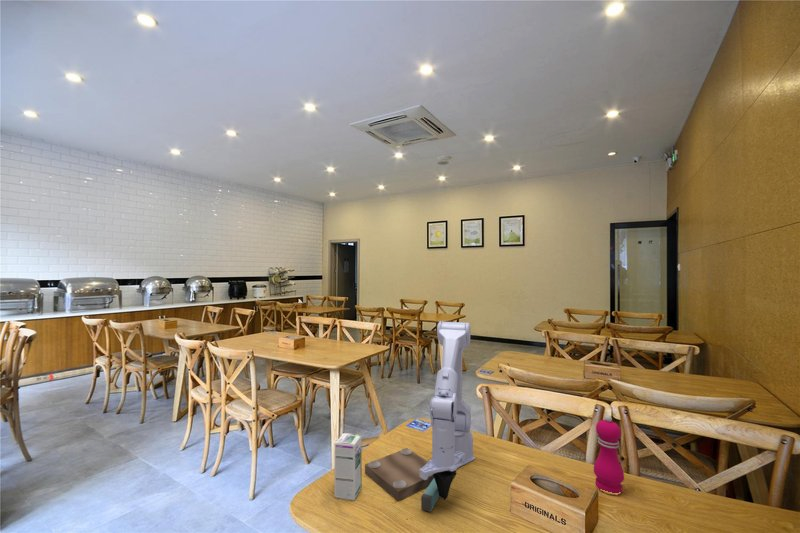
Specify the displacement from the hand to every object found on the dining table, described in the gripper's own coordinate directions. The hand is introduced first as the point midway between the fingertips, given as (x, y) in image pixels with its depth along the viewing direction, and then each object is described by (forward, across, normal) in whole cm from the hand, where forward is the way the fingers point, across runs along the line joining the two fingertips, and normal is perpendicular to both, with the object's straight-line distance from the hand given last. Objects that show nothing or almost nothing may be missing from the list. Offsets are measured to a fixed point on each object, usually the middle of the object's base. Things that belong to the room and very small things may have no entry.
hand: (443, 497), depth 88 cm
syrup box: (+2, -17, +19) cm, 25 cm away
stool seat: (+2, -1, +16) cm, 16 cm away
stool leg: (+1, +1, +3) cm, 4 cm away
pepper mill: (+2, +41, -23) cm, 47 cm away
